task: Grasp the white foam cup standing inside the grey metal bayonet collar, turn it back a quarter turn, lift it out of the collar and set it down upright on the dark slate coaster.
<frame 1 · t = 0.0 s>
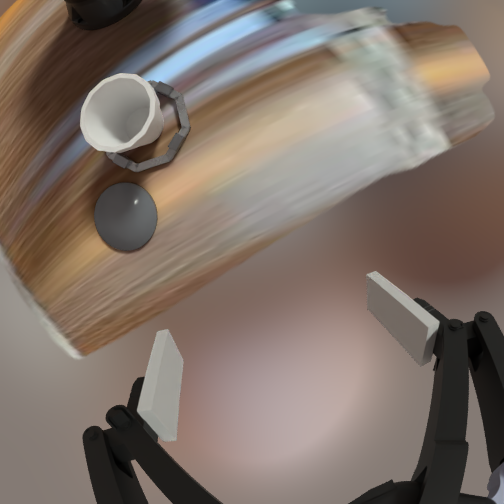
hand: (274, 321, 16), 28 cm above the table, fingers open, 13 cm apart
collar: (144, 125, 36), on the table
coaster: (125, 216, 40), on the table
foam cup: (144, 125, 36), on the table
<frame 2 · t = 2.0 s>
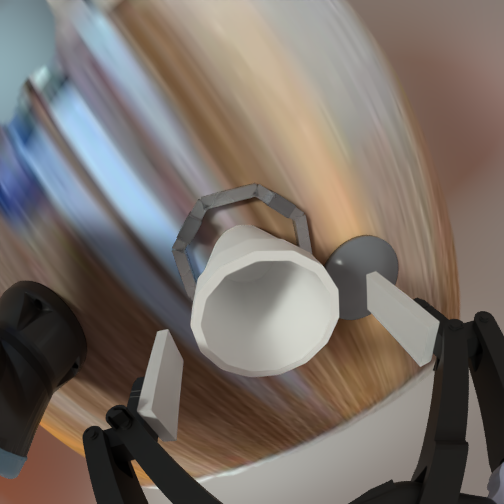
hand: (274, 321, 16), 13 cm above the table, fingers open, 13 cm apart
collar: (244, 254, 28), on the table
coaster: (360, 278, 31), on the table
foam cup: (244, 253, 29), on the table
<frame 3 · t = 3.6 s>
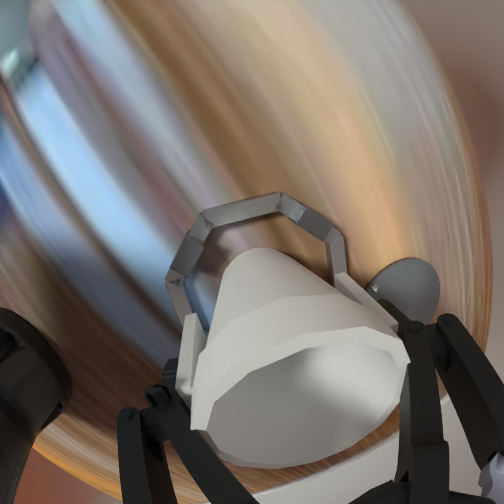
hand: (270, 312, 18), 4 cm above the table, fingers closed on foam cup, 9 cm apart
collar: (261, 285, 21), on the table
coaster: (398, 308, 24), on the table
foam cup: (260, 284, 22), on the table, touching gripper
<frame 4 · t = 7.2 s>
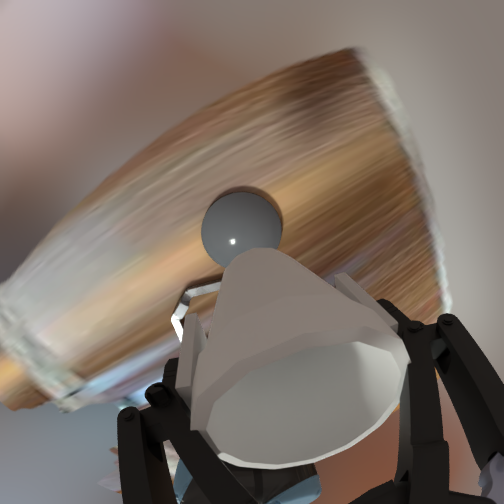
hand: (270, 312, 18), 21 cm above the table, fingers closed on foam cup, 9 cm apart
collar: (218, 320, 42), on the table
coaster: (241, 231, 38), on the table
foam cup: (260, 284, 21), point 17 cm above the table, touching gripper
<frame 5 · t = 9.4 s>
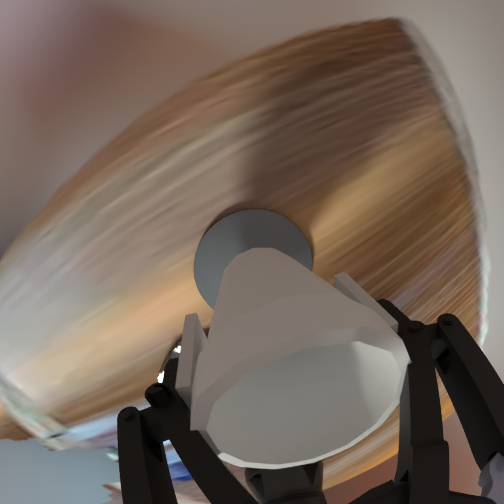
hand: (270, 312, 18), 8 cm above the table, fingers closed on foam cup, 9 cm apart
coaster: (253, 267, 25), on the table
foam cup: (260, 284, 21), point 4 cm above the table, touching gripper
when the fingers open (6 cm above the table, at t = 10.9 s): foam cup drops 1 cm, resting on coaster.
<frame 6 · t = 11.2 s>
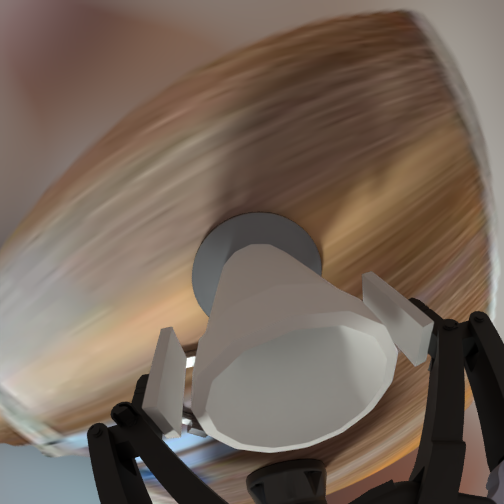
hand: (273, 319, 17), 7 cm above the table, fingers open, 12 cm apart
collar: (222, 392, 27), on the table
coaster: (257, 275, 23), on the table
foam cup: (258, 279, 23), point 1 cm above the table, touching coaster
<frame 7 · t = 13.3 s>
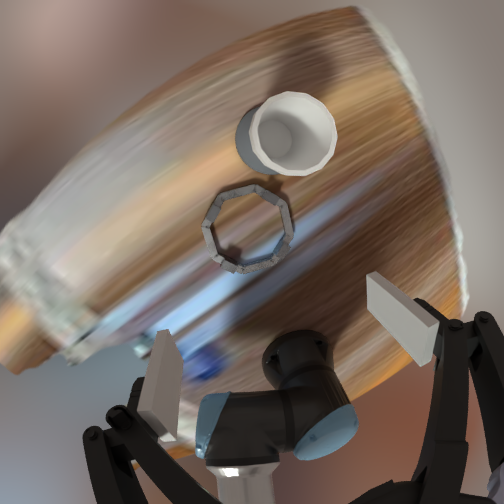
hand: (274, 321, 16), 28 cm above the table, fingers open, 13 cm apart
collar: (247, 229, 43), on the table
coaster: (271, 139, 39), on the table
foam cup: (271, 139, 38), point 1 cm above the table, touching coaster
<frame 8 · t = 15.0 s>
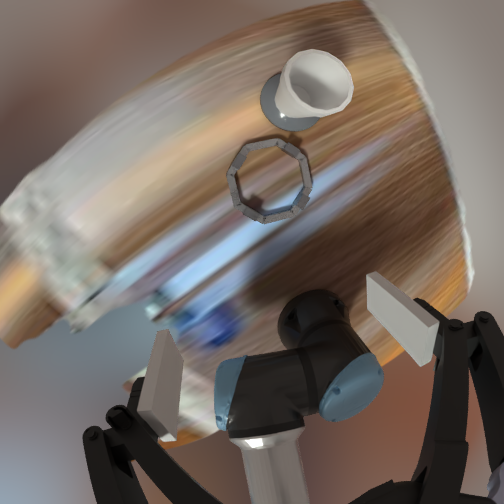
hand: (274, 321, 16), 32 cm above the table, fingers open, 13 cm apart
collar: (269, 180, 45), on the table
coaster: (291, 101, 41), on the table
foam cup: (292, 101, 40), point 1 cm above the table, touching coaster
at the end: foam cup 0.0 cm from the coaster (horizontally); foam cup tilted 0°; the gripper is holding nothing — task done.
